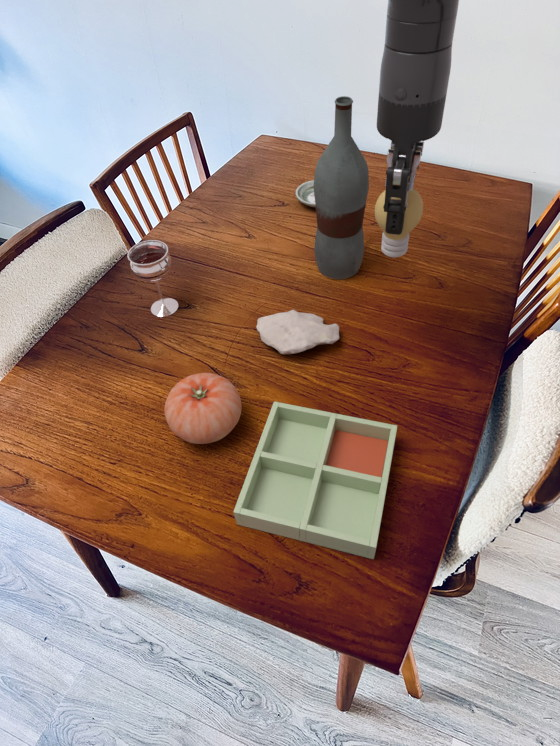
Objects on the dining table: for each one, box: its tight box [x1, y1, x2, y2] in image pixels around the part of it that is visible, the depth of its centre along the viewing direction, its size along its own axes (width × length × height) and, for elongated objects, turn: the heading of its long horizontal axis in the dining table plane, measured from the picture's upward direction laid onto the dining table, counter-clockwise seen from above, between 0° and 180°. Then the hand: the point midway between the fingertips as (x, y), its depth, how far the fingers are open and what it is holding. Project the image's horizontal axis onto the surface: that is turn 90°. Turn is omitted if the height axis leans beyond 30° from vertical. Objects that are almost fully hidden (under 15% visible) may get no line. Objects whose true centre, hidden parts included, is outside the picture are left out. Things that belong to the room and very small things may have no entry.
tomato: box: [163, 372, 243, 445], centre depth 73 cm, size 11×11×8 cm
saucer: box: [295, 179, 316, 208], centre depth 112 cm, size 10×10×2 cm
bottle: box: [313, 95, 370, 280], centre depth 87 cm, size 9×9×30 cm
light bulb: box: [374, 188, 424, 258], centre depth 71 cm, size 6×6×10 cm
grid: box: [232, 401, 398, 560], centre depth 68 cm, size 17×17×4 cm
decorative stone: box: [255, 309, 340, 355], centre depth 85 cm, size 11×4×15 cm
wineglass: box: [127, 239, 179, 318], centre depth 89 cm, size 7×7×12 cm
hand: (397, 217), depth 71 cm, fingers closed on light bulb, 6 cm apart
